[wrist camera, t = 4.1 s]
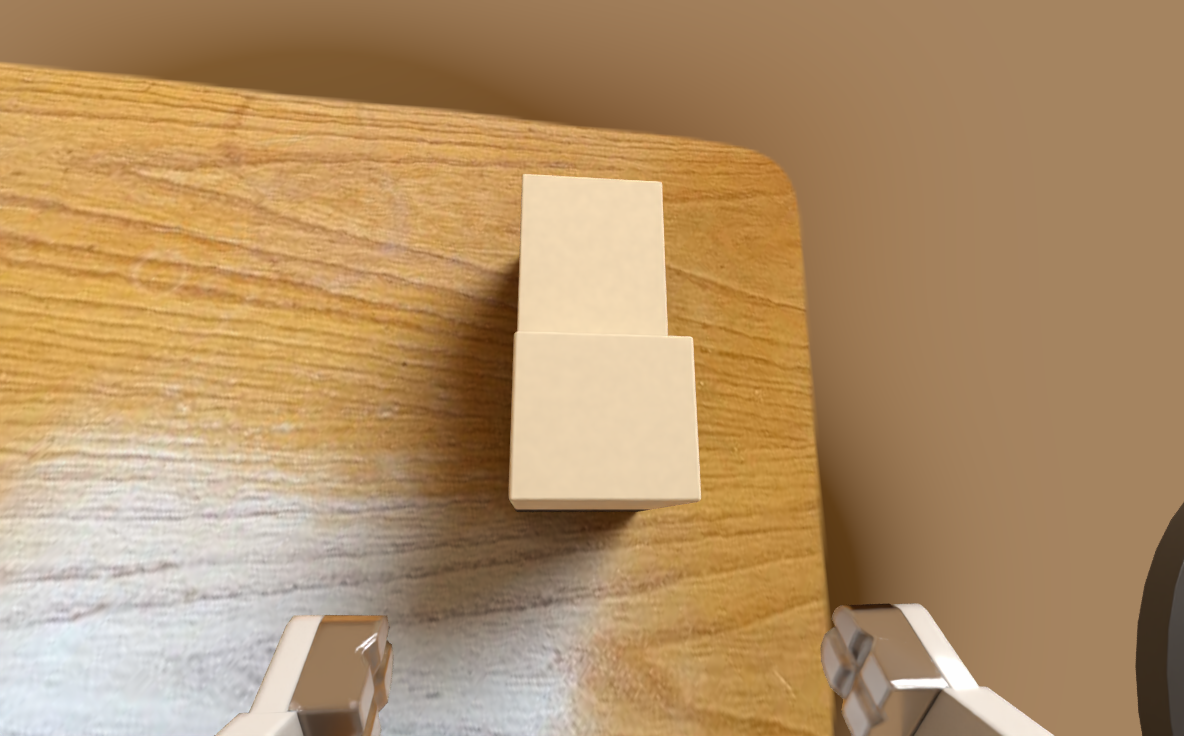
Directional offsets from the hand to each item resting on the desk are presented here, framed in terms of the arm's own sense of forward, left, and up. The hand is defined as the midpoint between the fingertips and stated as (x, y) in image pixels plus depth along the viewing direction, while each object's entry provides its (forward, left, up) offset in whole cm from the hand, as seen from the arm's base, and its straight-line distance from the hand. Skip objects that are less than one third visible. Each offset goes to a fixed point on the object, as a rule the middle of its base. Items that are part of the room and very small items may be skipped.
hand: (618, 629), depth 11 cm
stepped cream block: (0, -7, -10) cm, 12 cm away
